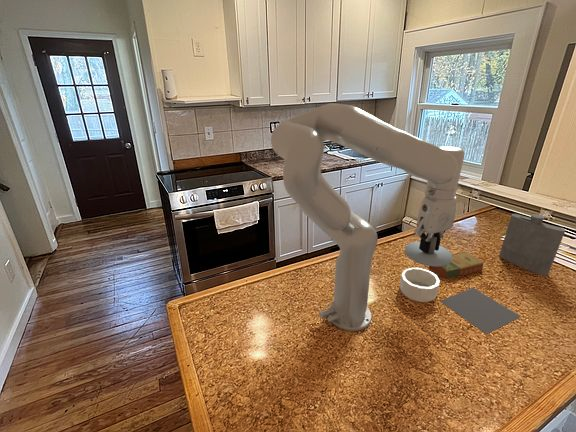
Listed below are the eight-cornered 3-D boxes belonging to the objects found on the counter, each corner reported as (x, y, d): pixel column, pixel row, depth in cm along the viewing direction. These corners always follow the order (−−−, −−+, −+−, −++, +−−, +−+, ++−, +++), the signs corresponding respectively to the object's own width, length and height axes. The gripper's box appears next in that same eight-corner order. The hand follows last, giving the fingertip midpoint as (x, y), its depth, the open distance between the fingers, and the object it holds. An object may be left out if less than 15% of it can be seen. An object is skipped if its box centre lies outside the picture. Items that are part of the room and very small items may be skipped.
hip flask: (549, 274, 106) (570, 222, 97) (544, 277, 104) (564, 225, 96) (502, 253, 118) (516, 206, 110) (496, 256, 117) (510, 209, 108)
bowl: (417, 308, 92) (420, 292, 89) (392, 288, 101) (394, 273, 99) (443, 297, 96) (447, 282, 93) (417, 279, 105) (419, 264, 103)
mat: (485, 335, 81) (486, 334, 81) (439, 302, 94) (440, 300, 94) (520, 318, 87) (521, 316, 87) (472, 288, 99) (473, 287, 99)
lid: (428, 270, 84) (432, 252, 81) (395, 249, 95) (398, 232, 92) (461, 260, 89) (466, 242, 86) (426, 241, 99) (430, 224, 97)
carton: (481, 272, 108) (484, 262, 107) (445, 281, 104) (447, 271, 102) (463, 260, 116) (465, 250, 114) (428, 268, 112) (430, 258, 110)
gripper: (428, 201, 77) (417, 262, 85) (473, 192, 83) (458, 249, 91) (407, 192, 84) (398, 249, 91) (450, 184, 90) (438, 239, 97)
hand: (428, 249), depth 91 cm, fingers closed on lid, 3 cm apart
